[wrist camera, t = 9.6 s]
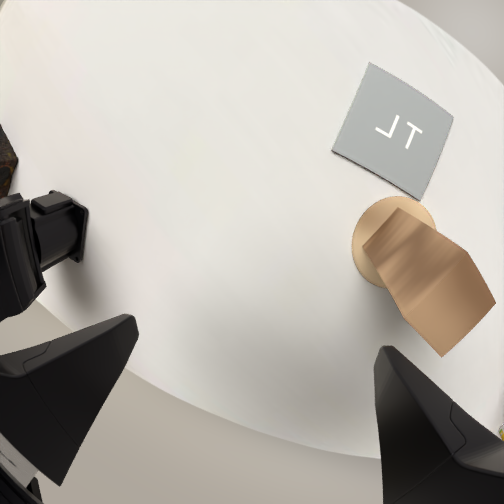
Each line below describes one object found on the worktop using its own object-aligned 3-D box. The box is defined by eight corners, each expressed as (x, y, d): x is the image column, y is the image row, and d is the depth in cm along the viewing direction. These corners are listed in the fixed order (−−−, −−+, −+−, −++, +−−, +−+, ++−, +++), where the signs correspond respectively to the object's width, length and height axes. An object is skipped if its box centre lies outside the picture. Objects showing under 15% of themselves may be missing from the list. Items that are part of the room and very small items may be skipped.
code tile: (418, 200, 18) (420, 200, 18) (331, 150, 18) (331, 149, 18) (451, 117, 15) (453, 116, 15) (368, 63, 15) (369, 62, 15)
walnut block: (394, 278, 20) (441, 357, 11) (362, 246, 20) (403, 318, 10) (428, 242, 18) (496, 302, 9) (397, 207, 18) (467, 252, 9)
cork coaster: (405, 298, 21) (406, 300, 20) (335, 264, 21) (335, 266, 21) (448, 224, 18) (451, 225, 18) (379, 178, 18) (380, 178, 18)
